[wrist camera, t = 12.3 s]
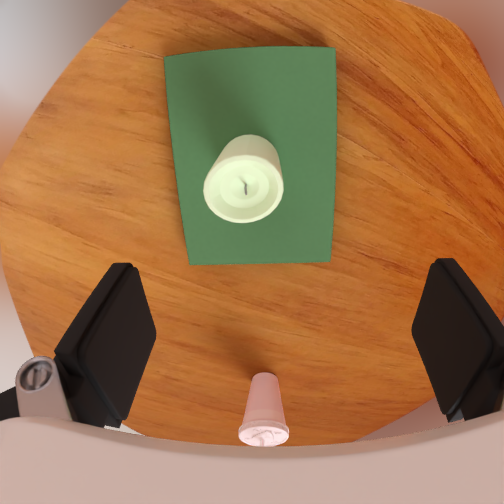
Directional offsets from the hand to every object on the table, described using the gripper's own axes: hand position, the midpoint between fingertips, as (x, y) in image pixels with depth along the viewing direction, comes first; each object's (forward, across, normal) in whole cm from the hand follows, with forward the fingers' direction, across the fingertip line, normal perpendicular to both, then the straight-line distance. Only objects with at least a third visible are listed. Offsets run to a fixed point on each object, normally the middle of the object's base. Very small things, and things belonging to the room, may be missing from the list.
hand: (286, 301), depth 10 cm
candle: (+19, +2, 0) cm, 19 cm away
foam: (+21, +2, 0) cm, 21 cm away
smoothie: (+21, +2, +32) cm, 38 cm away
